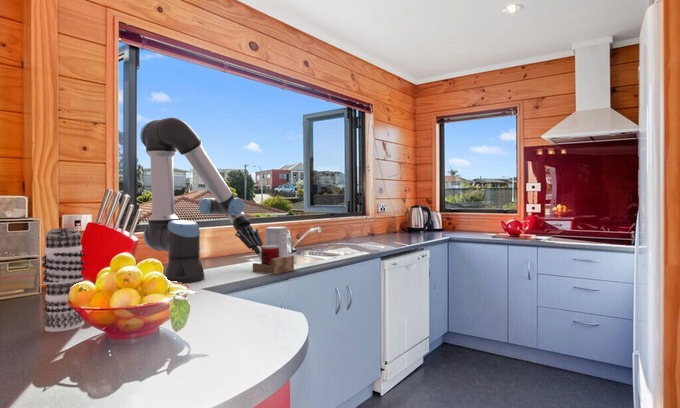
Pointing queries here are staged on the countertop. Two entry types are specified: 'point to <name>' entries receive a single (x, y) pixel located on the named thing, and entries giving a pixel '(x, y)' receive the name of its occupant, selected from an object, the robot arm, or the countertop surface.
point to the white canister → (277, 238)
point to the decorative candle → (62, 277)
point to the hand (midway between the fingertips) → (264, 258)
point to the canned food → (269, 253)
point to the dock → (276, 265)
